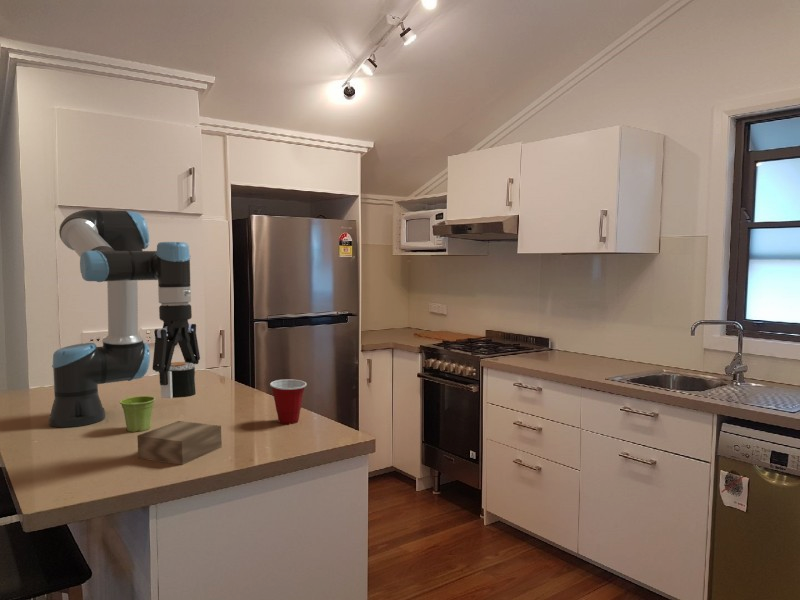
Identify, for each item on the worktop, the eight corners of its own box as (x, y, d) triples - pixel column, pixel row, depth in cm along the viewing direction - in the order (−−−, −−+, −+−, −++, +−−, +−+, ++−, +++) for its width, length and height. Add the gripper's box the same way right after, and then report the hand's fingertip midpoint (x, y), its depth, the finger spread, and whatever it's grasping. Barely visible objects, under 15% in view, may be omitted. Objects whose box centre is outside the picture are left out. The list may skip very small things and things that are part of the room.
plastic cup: (290, 428, 166) (289, 387, 166) (263, 423, 172) (262, 383, 171) (315, 419, 175) (314, 380, 175) (288, 415, 181) (287, 377, 180)
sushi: (160, 392, 147) (159, 362, 147) (194, 389, 151) (193, 359, 150) (160, 399, 140) (159, 367, 140) (197, 396, 143) (196, 364, 143)
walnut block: (138, 459, 143) (137, 435, 142) (179, 442, 156) (178, 420, 155) (182, 466, 137) (181, 441, 137) (221, 448, 150) (221, 425, 150)
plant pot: (163, 426, 171) (162, 397, 170) (139, 435, 162) (138, 404, 161) (138, 423, 174) (137, 395, 173) (113, 432, 165) (112, 402, 164)
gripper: (160, 307, 133) (164, 404, 134) (212, 301, 153) (215, 385, 155) (132, 307, 134) (136, 402, 136) (187, 301, 155) (190, 384, 157)
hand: (178, 393), depth 145 cm, fingers closed on sushi, 9 cm apart
